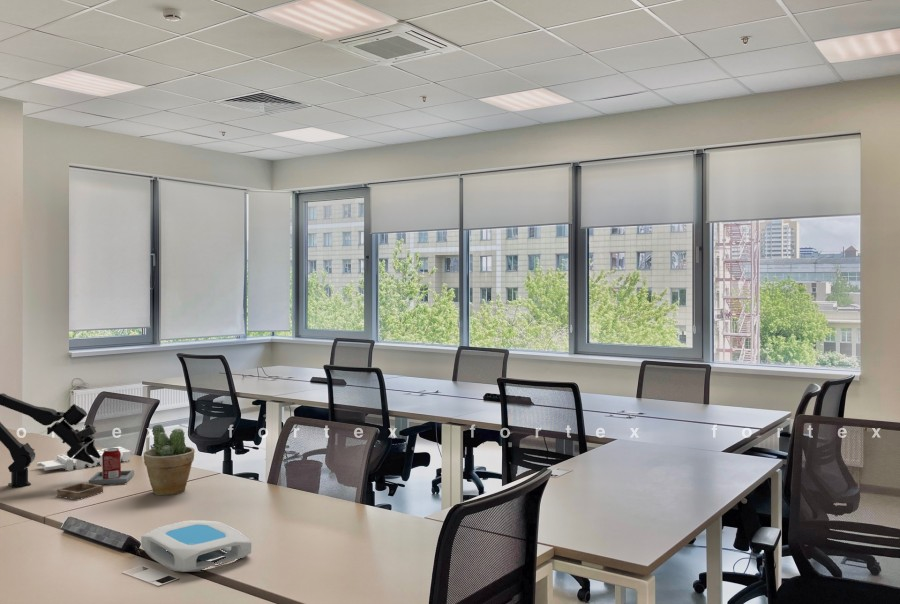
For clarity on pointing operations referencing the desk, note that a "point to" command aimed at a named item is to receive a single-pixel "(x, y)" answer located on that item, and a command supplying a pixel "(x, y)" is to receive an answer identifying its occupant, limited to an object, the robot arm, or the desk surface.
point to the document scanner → (194, 544)
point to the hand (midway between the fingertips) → (96, 460)
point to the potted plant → (168, 462)
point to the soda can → (111, 463)
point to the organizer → (79, 461)
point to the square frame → (88, 491)
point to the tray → (123, 479)
